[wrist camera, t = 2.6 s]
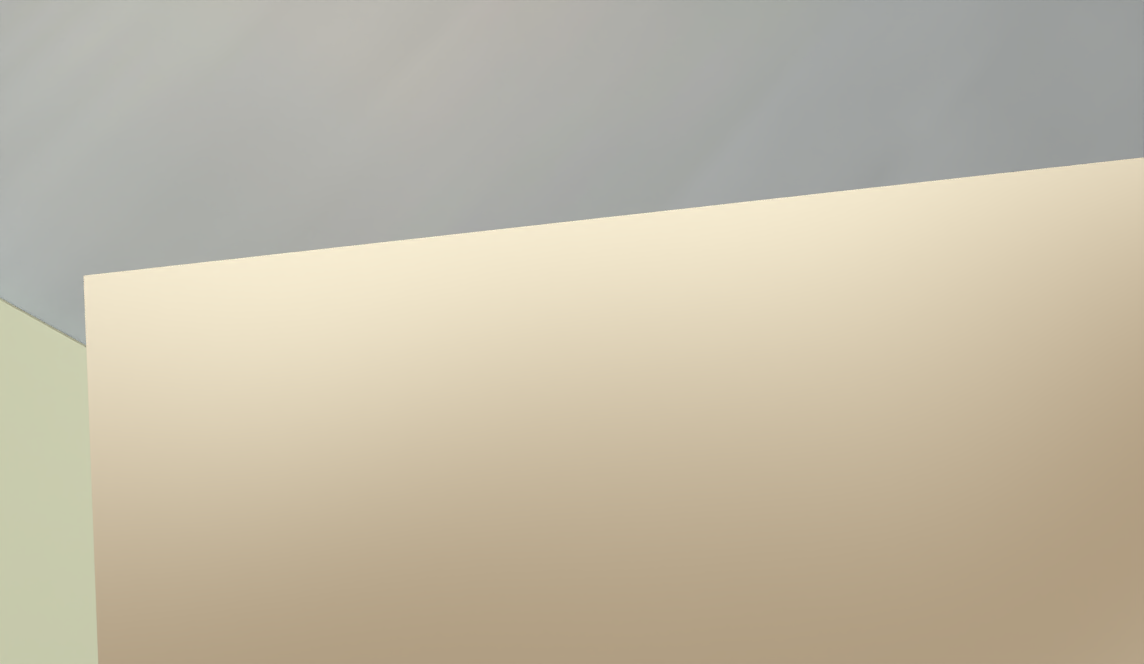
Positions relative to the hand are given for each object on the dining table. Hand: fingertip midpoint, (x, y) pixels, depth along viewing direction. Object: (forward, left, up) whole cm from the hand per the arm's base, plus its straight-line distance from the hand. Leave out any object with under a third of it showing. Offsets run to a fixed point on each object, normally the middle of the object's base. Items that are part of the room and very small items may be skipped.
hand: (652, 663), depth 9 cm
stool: (0, 0, -9) cm, 9 cm away
